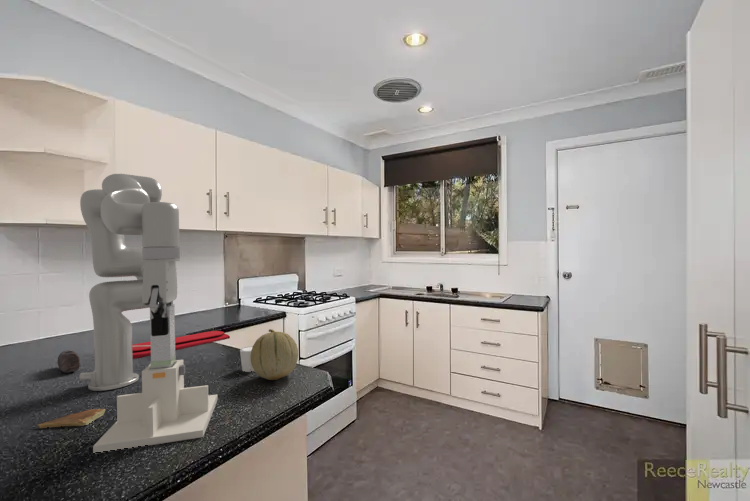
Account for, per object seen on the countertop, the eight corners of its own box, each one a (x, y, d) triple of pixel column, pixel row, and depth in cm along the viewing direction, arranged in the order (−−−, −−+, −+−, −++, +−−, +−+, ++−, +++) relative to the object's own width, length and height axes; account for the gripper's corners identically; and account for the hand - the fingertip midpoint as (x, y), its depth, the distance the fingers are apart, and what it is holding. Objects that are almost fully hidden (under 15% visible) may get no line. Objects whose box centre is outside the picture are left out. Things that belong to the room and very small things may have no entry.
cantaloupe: (273, 390, 100) (272, 338, 100) (240, 381, 108) (239, 332, 108) (308, 374, 113) (307, 328, 113) (277, 367, 120) (276, 324, 121)
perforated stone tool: (54, 367, 126) (54, 348, 126) (73, 364, 130) (73, 345, 130) (61, 377, 116) (60, 356, 116) (81, 372, 120) (81, 352, 120)
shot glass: (254, 373, 116) (254, 351, 116) (236, 372, 117) (235, 351, 117) (265, 366, 122) (264, 346, 122) (247, 365, 124) (247, 345, 124)
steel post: (151, 386, 80) (149, 307, 80) (156, 380, 84) (155, 305, 84) (171, 384, 81) (169, 306, 81) (176, 378, 85) (174, 304, 85)
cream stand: (93, 453, 70) (91, 386, 70) (132, 410, 89) (131, 357, 89) (203, 437, 75) (201, 374, 75) (217, 399, 95) (216, 349, 95)
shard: (36, 430, 81) (36, 422, 81) (64, 415, 89) (64, 408, 89) (85, 428, 81) (85, 420, 81) (108, 413, 89) (108, 406, 89)
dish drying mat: (230, 339, 164) (230, 331, 164) (127, 362, 132) (126, 352, 132) (214, 335, 174) (214, 327, 174) (114, 355, 142) (114, 345, 142)
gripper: (155, 255, 89) (156, 327, 89) (128, 255, 73) (130, 343, 73) (187, 254, 92) (189, 324, 91) (169, 255, 75) (170, 340, 75)
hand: (162, 332), depth 82 cm, fingers closed on steel post, 4 cm apart
